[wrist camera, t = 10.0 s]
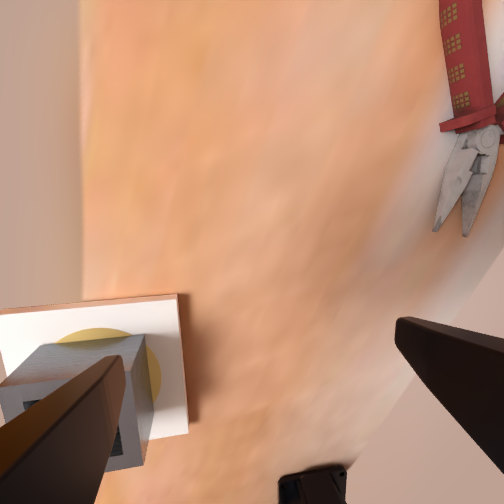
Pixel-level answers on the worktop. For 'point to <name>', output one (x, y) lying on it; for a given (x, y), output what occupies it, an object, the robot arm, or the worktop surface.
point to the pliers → (468, 111)
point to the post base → (107, 326)
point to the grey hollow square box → (73, 363)
